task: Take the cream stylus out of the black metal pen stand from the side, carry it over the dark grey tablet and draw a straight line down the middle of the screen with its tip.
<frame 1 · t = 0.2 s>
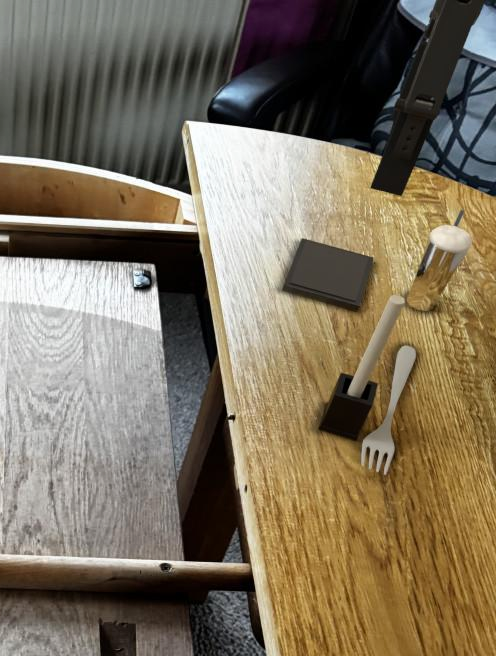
hand: (396, 155, 83), 23 cm above the table, tool pointing down, fingers open, 13 cm apart
fork: (388, 412, 98), on the table
tablet: (327, 276, 111), on the table
stylus: (342, 419, 95), point 1 cm above the table, touching pen stand
pen stand: (340, 423, 96), on the table
milkshake: (419, 302, 110), on the table
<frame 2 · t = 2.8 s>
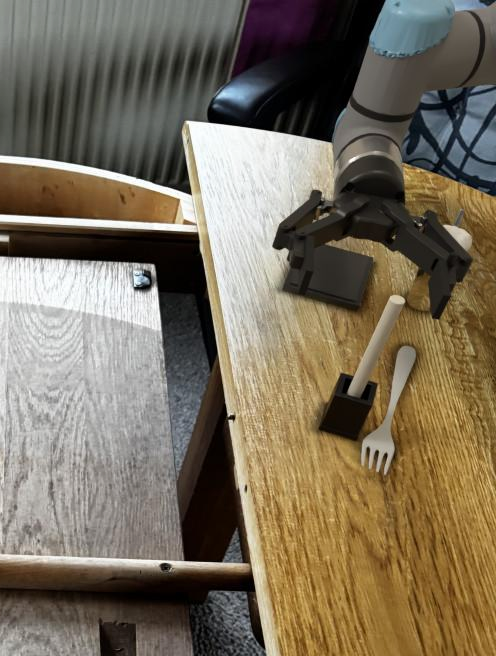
hand: (373, 295, 93), 10 cm above the table, tool horizontal, fingers open, 13 cm apart
nothing on the table moved.
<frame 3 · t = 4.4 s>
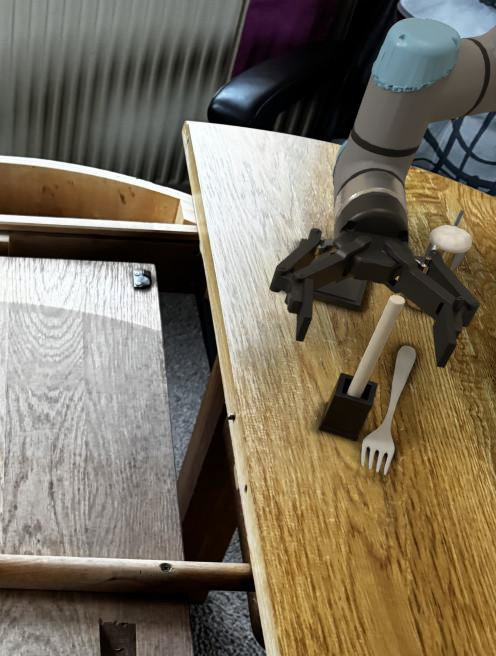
hand: (374, 342, 88), 9 cm above the table, tool horizontal, fingers open, 13 cm apart
nothing on the table moved.
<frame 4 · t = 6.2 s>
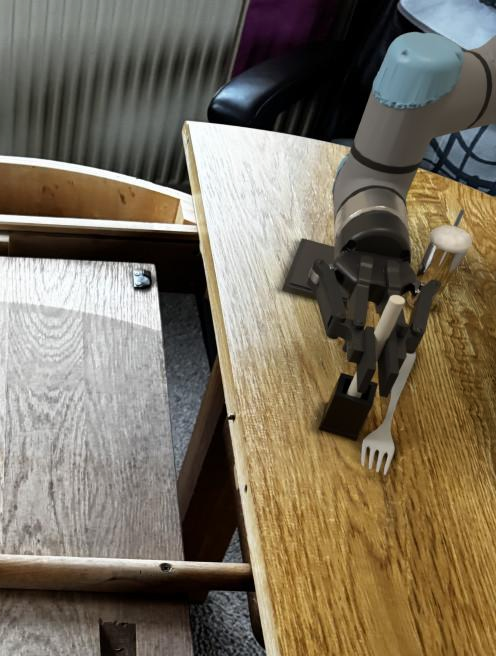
hand: (377, 383, 85), 10 cm above the table, tool horizontal, fingers closed on stylus
stylus: (342, 419, 95), point 1 cm above the table, touching gripper, pen stand
everything else where it was.
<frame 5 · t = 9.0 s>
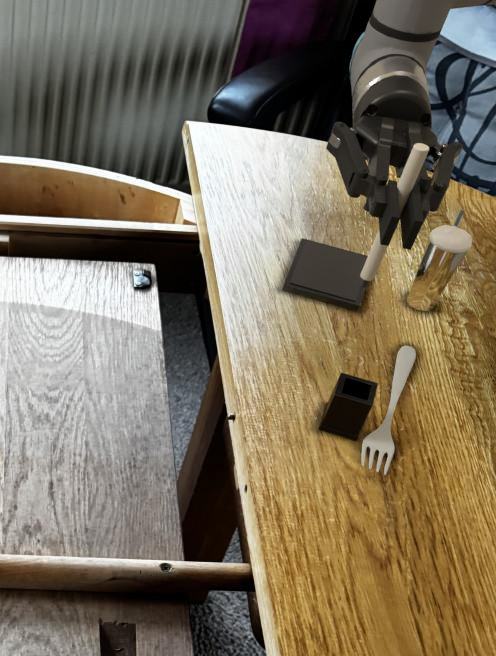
hand: (401, 233, 84), 18 cm above the table, tool horizontal, fingers closed on stylus
stylus: (363, 286, 94), point 9 cm above the table, touching gripper
everything else where it was.
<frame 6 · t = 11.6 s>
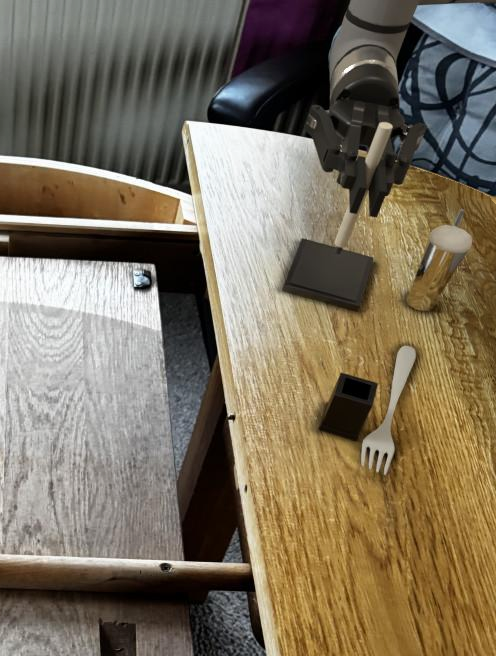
hand: (368, 202, 94), 14 cm above the table, tool horizontal, fingers closed on stylus
stylus: (337, 252, 105), point 5 cm above the table, touching gripper
everything else where it was.
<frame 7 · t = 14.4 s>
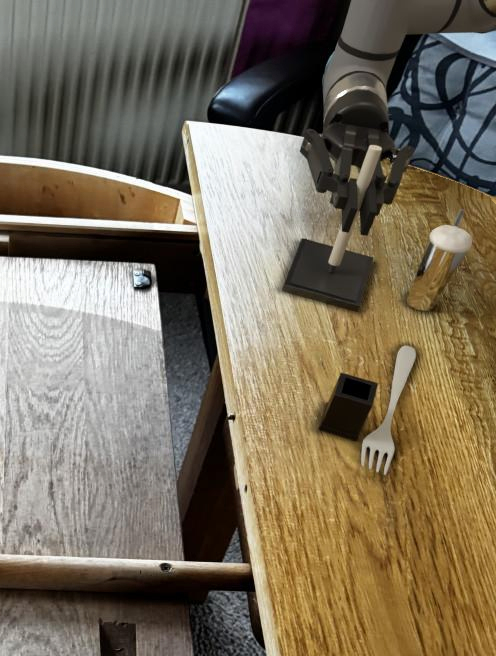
hand: (359, 222, 101), 10 cm above the table, tool horizontal, fingers closed on stylus
stylus: (331, 271, 110), point 1 cm above the table, tilted 6°, touching gripper
everything else where it was.
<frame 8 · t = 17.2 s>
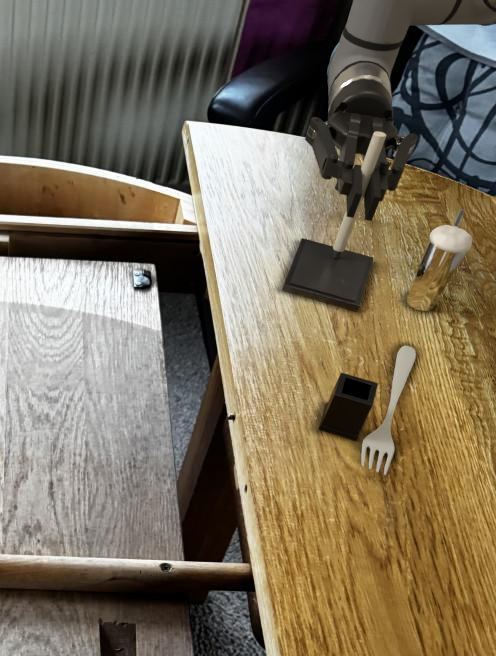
hand: (363, 207, 102), 10 cm above the table, tool horizontal, fingers closed on stylus
stylus: (335, 257, 112), point 1 cm above the table, tilted 7°, touching gripper, tablet
everything else where it was.
at the end: the gripper is holding stylus; stylus 1.1 cm from the target spot on the tablet, point 0.9 cm above the tablet's base; stylus moved 29.5 cm from its start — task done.
